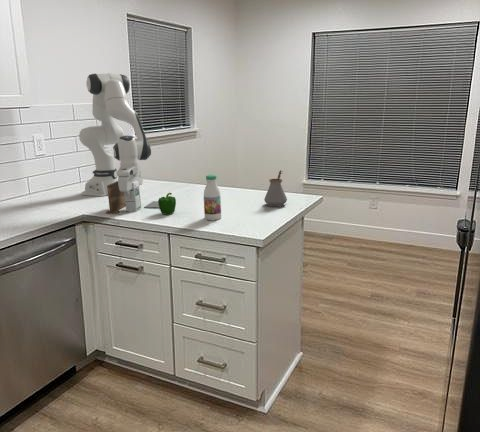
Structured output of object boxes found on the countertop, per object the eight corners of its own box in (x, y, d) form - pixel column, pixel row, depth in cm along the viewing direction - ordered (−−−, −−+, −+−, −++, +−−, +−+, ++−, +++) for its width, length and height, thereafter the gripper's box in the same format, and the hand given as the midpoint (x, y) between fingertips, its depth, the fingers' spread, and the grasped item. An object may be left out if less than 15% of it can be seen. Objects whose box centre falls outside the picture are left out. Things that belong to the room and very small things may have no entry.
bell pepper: (160, 216, 214) (158, 196, 211) (158, 212, 222) (156, 192, 219) (178, 214, 216) (176, 194, 213) (175, 210, 224) (174, 190, 221)
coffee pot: (284, 208, 222) (284, 178, 218) (262, 207, 225) (261, 177, 221) (291, 198, 242) (291, 170, 238) (270, 197, 245) (270, 169, 241)
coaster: (144, 208, 230) (144, 206, 230) (153, 202, 242) (153, 201, 242) (166, 208, 228) (166, 207, 228) (174, 202, 239) (174, 201, 239)
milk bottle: (204, 216, 212) (202, 174, 207) (221, 215, 212) (219, 173, 207) (204, 221, 205) (202, 177, 199) (221, 220, 205) (220, 176, 200)
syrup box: (136, 211, 224) (134, 182, 220) (125, 211, 225) (122, 182, 221) (141, 208, 230) (138, 180, 226) (130, 208, 231) (127, 180, 227)
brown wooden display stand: (105, 213, 222) (102, 185, 218) (120, 205, 237) (117, 179, 233) (117, 213, 221) (114, 185, 217) (131, 205, 236) (128, 179, 232)
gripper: (132, 166, 232) (135, 192, 236) (114, 173, 213) (117, 201, 217) (144, 166, 231) (146, 192, 235) (127, 173, 212) (130, 202, 215)
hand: (132, 197), depth 226 cm, fingers open, 8 cm apart
